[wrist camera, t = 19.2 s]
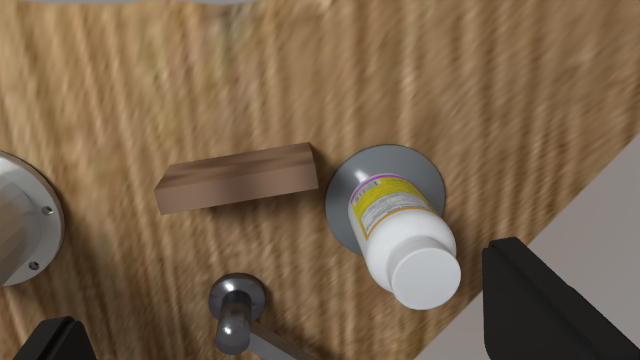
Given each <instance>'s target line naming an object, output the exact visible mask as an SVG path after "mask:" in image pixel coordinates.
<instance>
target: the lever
mask: <svg viewBox="0 0 640 360" xmlns="http://www.w3.org/2000/svg"><path fill="white" fill-rule="evenodd" d="M264 307H265V291H264V288H263V286H262V284H261V283H260V282H259V281H258V280H257V279H256V278H254V277H252V276H250V275H248V274H244V273H232V274H228V275H225V276H223V277H221V278H220V279H218V280H217V281H216V282H215V284H214V285H213V287H212V289H211V292H210V296H209V308H210V311H211V313H212V315H213V316H214V317H215V318H216V319H217V320H218V321H219V322H218V328H217V334H216V340H215V342H216V346H217V348H218V349H219V350H220V351H221V352H223V353H225V354H229V355H236V354H240V353H242V352H243V351H245V350H246V349H248V350H249V351H251V352H253V353H254V354H256V355H258V356H260V357H261V358H263V359H265V360H318V359H316V358H314V357H313V356H311V355H310V354H308V353H306V352H305V351H303V350H301V349H300V348H298V347H296V346H295V345H293V344H292V343H290V342H288V341H287V340H285V339H283V338H282V337H280V336H278V335H277V334H275V333H273V332H272V331H270V330H269V329H267V328H265V327H264V326H262V325H260V324H259V323H257V322H255V320H256V319H257V318H258V317H259V316H260V315H261V314H262V312H263V310H264Z"/></svg>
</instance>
